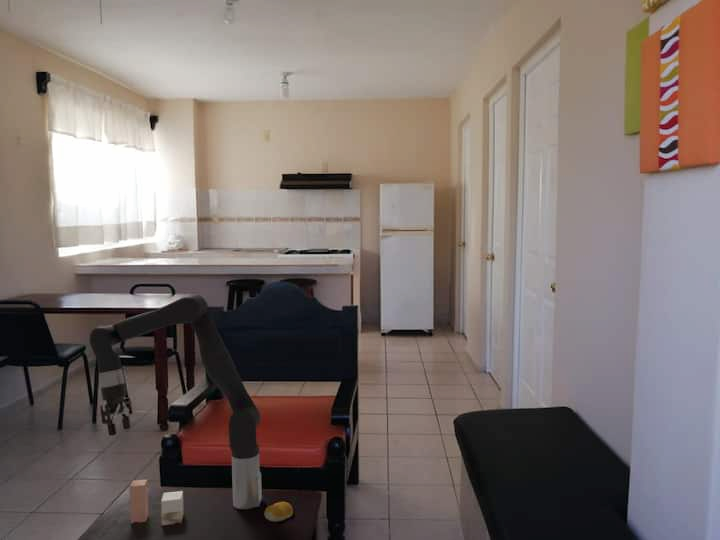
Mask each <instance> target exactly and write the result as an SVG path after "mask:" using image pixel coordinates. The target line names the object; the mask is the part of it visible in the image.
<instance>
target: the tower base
mask: <svg viewBox="0 0 720 540" xmlns="http://www.w3.org/2000/svg"><path fill="white" fill-rule="evenodd" d="M160 515H161V526H167V525H168V526H169V525H176V524H175V523H179V524H182V523H183V520H184V518H183V517H184V506H183V507H182V511H179V512H170V513H162V512H161V514H160Z"/></svg>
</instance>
